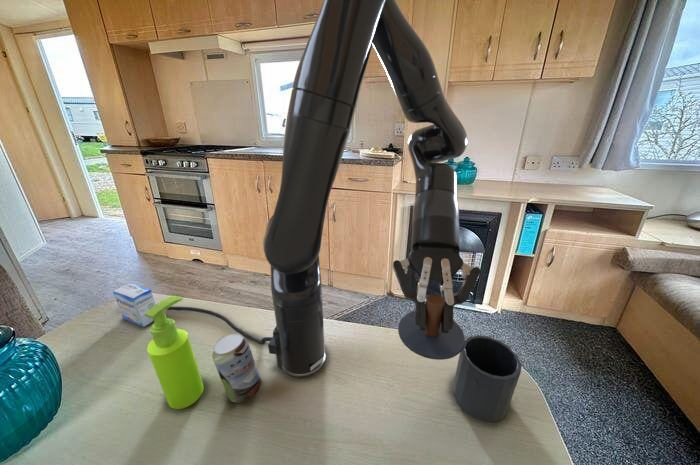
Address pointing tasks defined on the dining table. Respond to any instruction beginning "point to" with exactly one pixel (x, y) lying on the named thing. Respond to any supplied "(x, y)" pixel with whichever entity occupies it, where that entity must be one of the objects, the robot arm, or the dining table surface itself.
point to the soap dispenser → (173, 358)
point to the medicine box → (135, 303)
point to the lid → (431, 333)
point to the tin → (486, 378)
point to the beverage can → (236, 367)
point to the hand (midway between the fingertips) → (433, 330)
